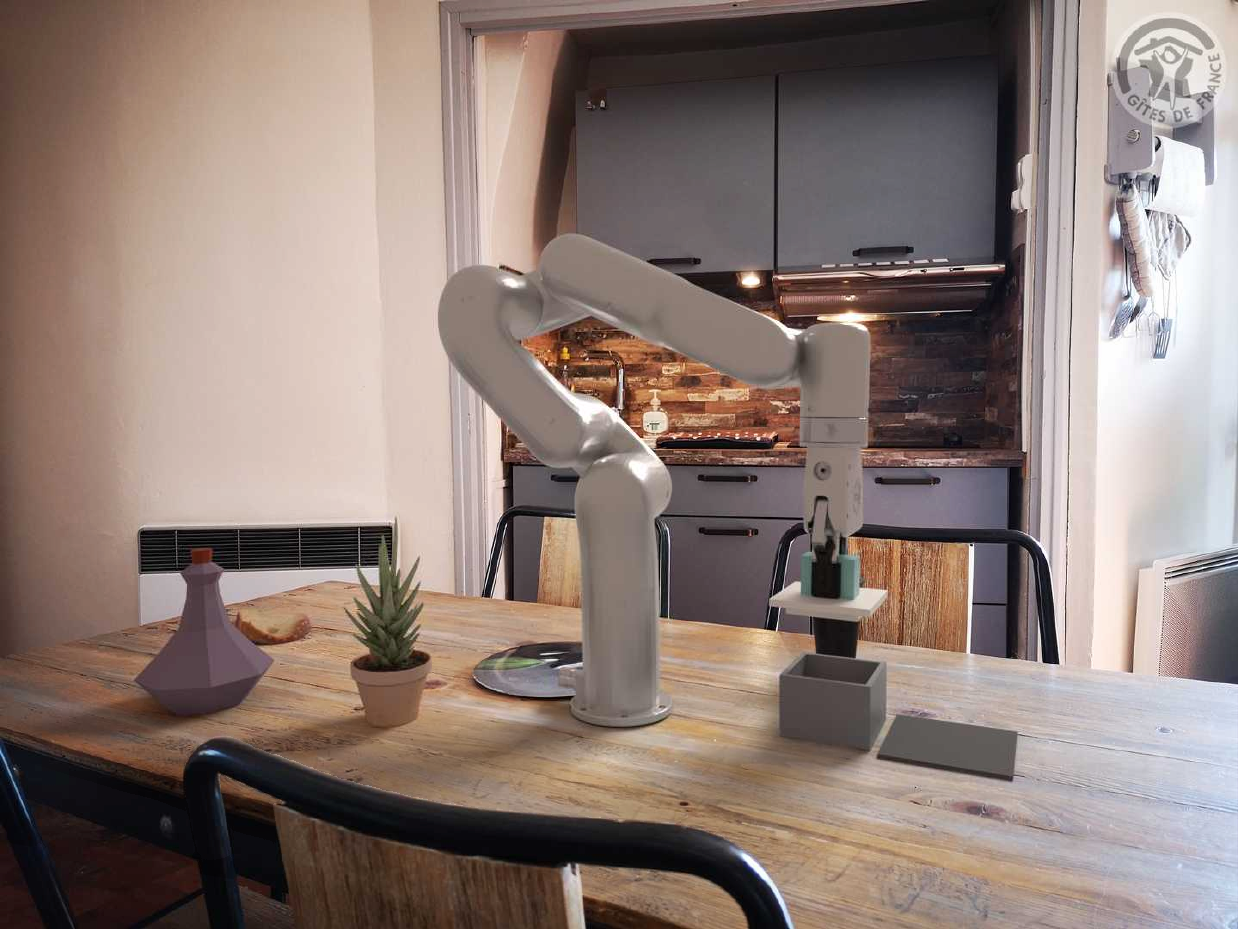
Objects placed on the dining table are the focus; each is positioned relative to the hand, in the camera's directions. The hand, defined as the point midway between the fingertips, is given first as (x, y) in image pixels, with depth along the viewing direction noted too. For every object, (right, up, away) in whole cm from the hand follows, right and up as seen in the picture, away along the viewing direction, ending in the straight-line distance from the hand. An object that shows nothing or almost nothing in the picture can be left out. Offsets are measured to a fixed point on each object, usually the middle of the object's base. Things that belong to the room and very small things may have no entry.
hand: (829, 592), depth 97 cm
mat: (+12, -16, -5) cm, 20 cm away
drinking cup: (+6, -15, +20) cm, 25 cm away
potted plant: (-52, -16, +6) cm, 54 cm away
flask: (-77, -16, +13) cm, 80 cm away
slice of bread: (-85, -15, +49) cm, 100 cm away
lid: (0, -2, 0) cm, 2 cm away
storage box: (+1, -16, +1) cm, 16 cm away
